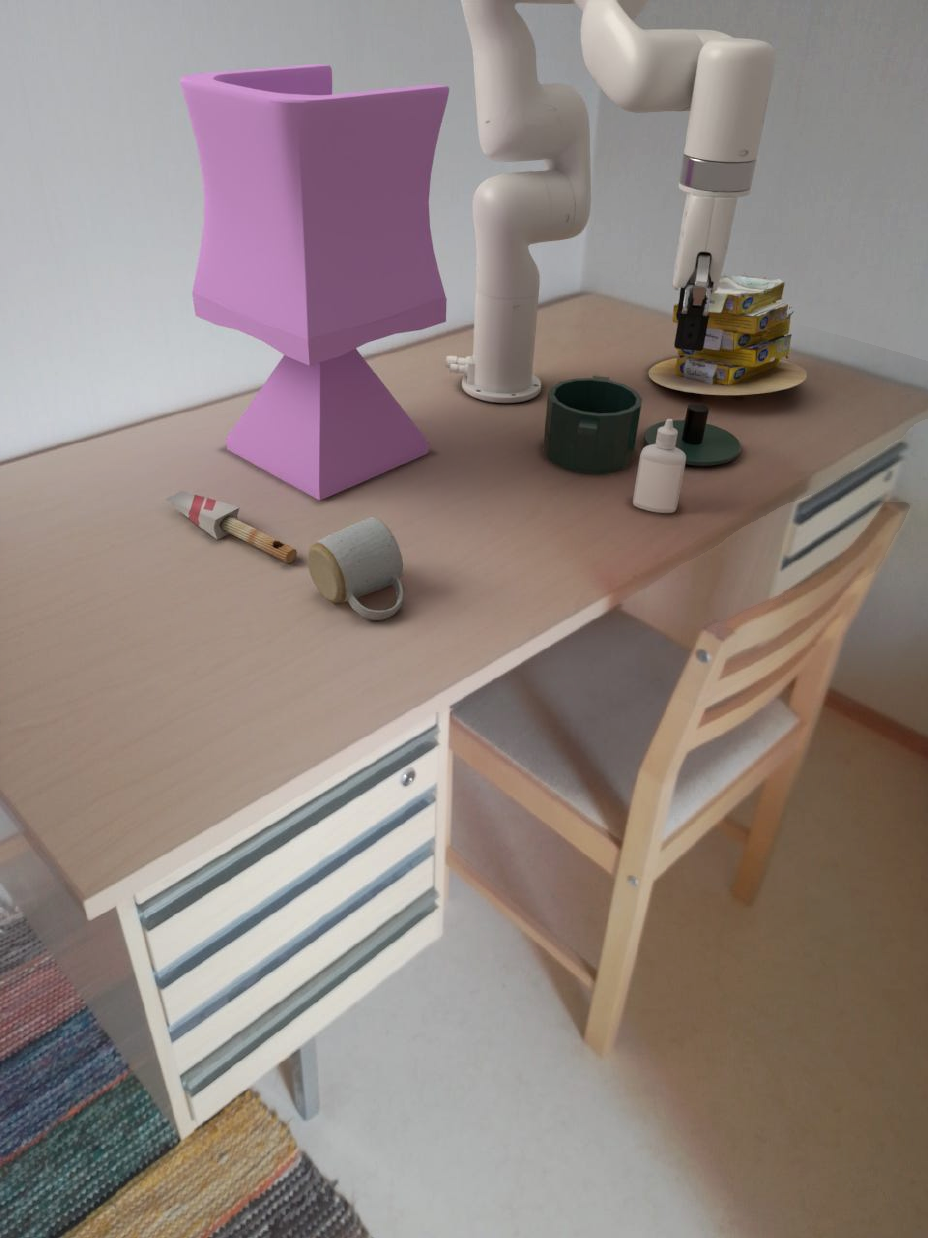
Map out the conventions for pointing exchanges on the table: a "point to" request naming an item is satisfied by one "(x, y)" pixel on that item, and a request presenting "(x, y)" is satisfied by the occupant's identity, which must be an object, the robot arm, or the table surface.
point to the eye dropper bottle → (660, 473)
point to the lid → (699, 438)
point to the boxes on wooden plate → (737, 343)
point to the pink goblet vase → (317, 258)
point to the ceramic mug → (357, 565)
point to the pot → (591, 425)
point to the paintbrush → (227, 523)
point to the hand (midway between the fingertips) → (688, 334)
